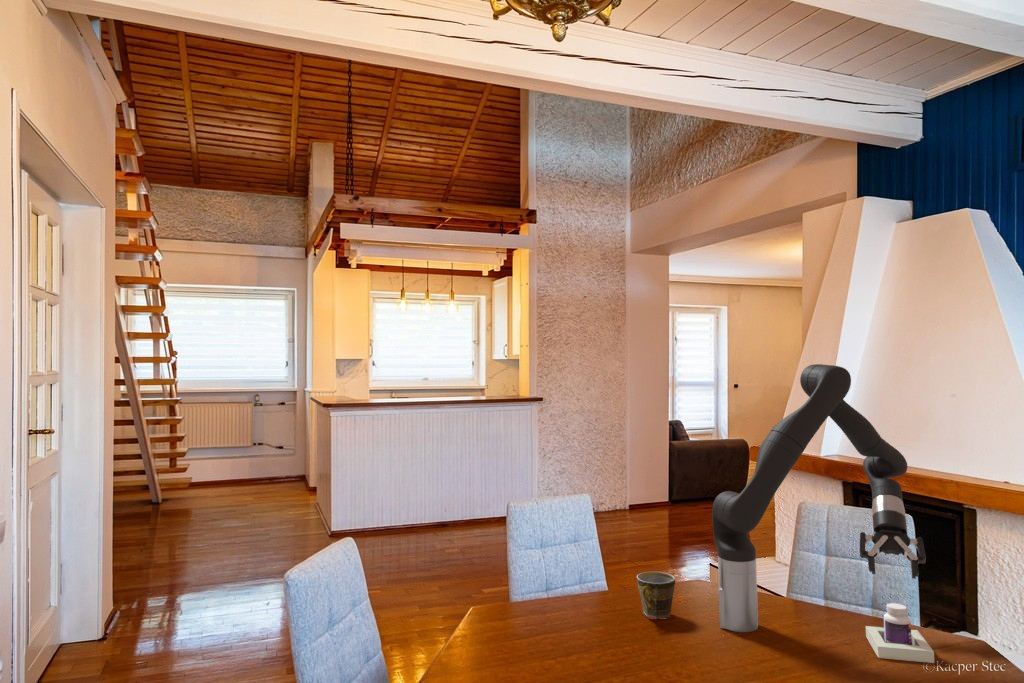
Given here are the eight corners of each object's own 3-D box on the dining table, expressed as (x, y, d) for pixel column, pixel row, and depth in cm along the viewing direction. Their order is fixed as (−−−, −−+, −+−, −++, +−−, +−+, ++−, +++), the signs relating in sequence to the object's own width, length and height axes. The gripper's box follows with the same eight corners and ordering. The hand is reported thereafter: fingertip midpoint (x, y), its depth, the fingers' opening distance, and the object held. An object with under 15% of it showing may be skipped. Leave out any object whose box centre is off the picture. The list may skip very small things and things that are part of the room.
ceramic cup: (647, 606, 183) (646, 569, 183) (682, 613, 177) (680, 575, 178) (626, 621, 173) (625, 582, 173) (662, 629, 167) (661, 589, 167)
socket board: (878, 657, 148) (877, 646, 149) (866, 636, 160) (865, 626, 160) (934, 663, 145) (933, 651, 145) (917, 640, 157) (917, 630, 157)
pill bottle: (915, 654, 150) (913, 610, 150) (889, 653, 151) (887, 609, 151) (906, 644, 155) (904, 602, 155) (881, 643, 156) (879, 601, 156)
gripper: (857, 506, 173) (860, 563, 162) (921, 511, 167) (928, 570, 156) (858, 522, 177) (860, 579, 167) (920, 527, 171) (927, 586, 160)
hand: (893, 574), depth 161 cm, fingers open, 8 cm apart
